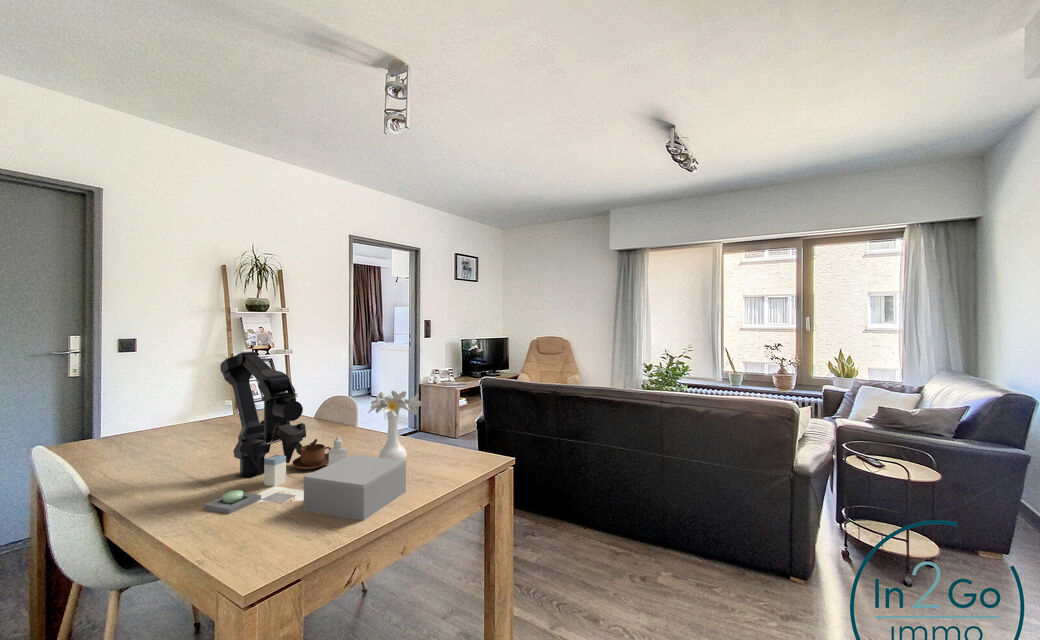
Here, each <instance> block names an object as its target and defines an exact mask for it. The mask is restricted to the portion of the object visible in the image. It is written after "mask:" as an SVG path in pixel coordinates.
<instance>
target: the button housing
mask: <svg viewBox="0 0 1040 640" xmlns="http://www.w3.org/2000/svg"><path fill="white" fill-rule="evenodd" d="M259 500H261V495H258V493H252V492H245V491H243V499H242V500H240V501H237V502H233V503H231V504H230V503H224V502H223V496H220V497H218V498H216V499H214V500H211V501H208V502H206V503H204V504H203V510H207V511H211V512H212V511H213V512H217V513H223V514H229V515H231V514H232V513H235V512H237V511H240V510H242V509H243V508H246V507H248V506H250V505H252V504H254V503H258V502H257V501H259Z"/></svg>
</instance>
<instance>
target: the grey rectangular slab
mask: <svg viewBox="0 0 1040 640" xmlns="http://www.w3.org/2000/svg"><path fill="white" fill-rule="evenodd" d="M303 491H304V501H303V511H305V512H311V513H315V514H316V513H317V514H324V515H330V516H333V517H340V518H348V519H353V520H360V521H365V520H367V519H368V518H370V517H371V516H373V515H374V514H376V513H377V512H379V511H380V510H382V509H383V508H385V507H386V506H387V505H389V504H390V503H392V502H393V501H395V500H396V499H398V498H399V497H401V496H402V495H404V494H405V493H406V492H407V462H406V460H404V461H401V460H392V459H384V458H378V457H374V456H373V457H372V456H366V455H365V456H364V455H357V454H356V455H355V454H351V455H348V457H346V458H344V459H342V460H340V461H337V462H335V463H333V464H331V465H328V464H327V465H325V466H323V467H321V468H320V469H318V470H315V471H313V472H311V473H309V474H306V475H304V476H303Z"/></svg>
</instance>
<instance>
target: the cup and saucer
mask: <svg viewBox="0 0 1040 640" xmlns="http://www.w3.org/2000/svg"><path fill="white" fill-rule="evenodd" d="M302 446H303V447H302V448H301V455H300V456H301V457H300V456H298V457H296V458H295V459H293V461H292V466H294V467H295V468H297V469H300V470H314V469H319V468H324V467H326V466H328V463H329V450H330V449H332V447H330V446H325V445H324V444H322V443H316V444H312V445H311V447H310V449H309V451H307V449H308V446H309V444H306V445H302ZM326 449H327V450H328V452H327V453H325V451H326Z"/></svg>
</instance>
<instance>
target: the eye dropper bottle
mask: <svg viewBox="0 0 1040 640" xmlns="http://www.w3.org/2000/svg"><path fill="white" fill-rule="evenodd" d="M333 444H334V445H333V447H331V449H330V450H329V449H328V452H329V463H328V464H327V466H328V465H331V464H333V463H335V462H337V461H340V460H342V459H344V458H346V457H348V456H349V455H348V454H349V453H348V452H349V451H348V450H349V449H348V448H346V447H345V446H344V447H343V440H342V439H341V438H340V435H337V436H336V439H335V440H333Z"/></svg>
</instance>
